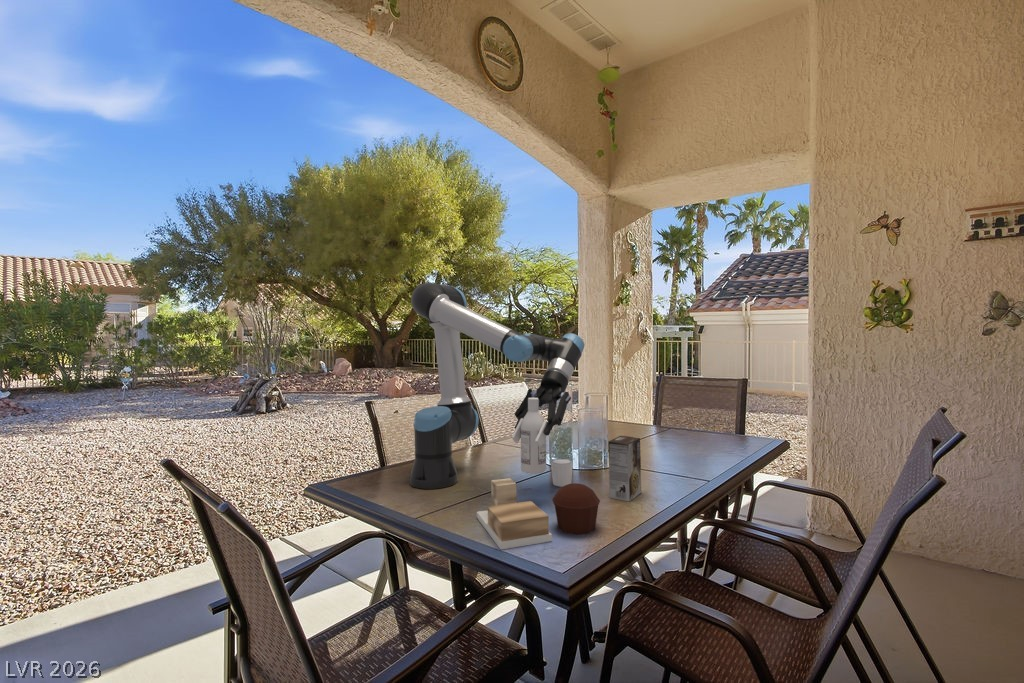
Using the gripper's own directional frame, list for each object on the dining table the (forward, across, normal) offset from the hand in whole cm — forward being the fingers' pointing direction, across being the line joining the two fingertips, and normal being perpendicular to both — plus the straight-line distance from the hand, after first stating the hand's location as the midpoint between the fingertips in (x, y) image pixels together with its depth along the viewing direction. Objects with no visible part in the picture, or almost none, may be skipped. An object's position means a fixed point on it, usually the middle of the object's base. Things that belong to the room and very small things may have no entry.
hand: (526, 442), depth 129 cm
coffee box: (-4, -18, -29) cm, 34 cm away
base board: (+22, -6, -2) cm, 23 cm away
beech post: (+19, -1, -4) cm, 19 cm away
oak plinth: (+23, -9, 0) cm, 25 cm away
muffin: (+16, -18, -9) cm, 26 cm away
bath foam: (+4, 0, -9) cm, 9 cm away
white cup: (-4, +2, -29) cm, 29 cm away
